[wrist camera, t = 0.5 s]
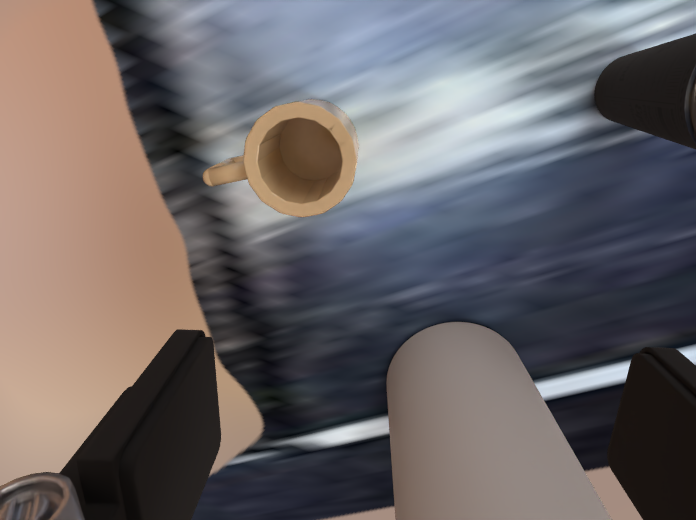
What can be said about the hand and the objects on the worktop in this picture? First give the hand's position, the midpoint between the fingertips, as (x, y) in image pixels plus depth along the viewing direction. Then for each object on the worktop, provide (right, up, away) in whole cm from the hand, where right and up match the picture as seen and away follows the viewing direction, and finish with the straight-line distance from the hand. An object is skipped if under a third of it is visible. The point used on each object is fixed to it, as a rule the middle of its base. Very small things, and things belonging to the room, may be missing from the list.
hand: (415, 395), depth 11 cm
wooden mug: (-6, +12, +28) cm, 31 cm away
